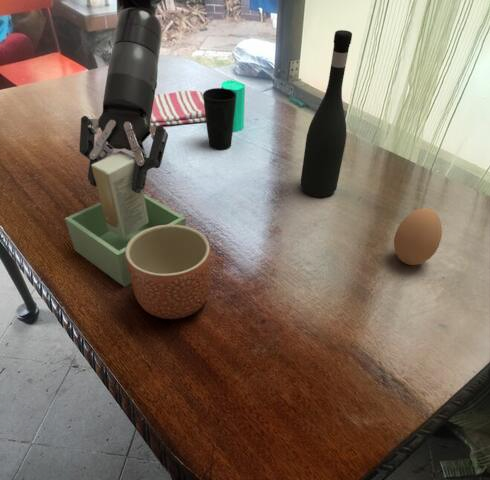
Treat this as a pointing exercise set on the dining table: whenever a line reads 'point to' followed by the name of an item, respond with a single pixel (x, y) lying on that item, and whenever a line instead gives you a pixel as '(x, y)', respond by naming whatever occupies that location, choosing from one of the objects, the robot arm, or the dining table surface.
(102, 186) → the cosmetic box
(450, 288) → the dining table surface
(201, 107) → the dish towel
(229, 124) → the cup
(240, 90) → the candle
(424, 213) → the egg
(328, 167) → the wine bottle
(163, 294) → the planter
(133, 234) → the green open box
